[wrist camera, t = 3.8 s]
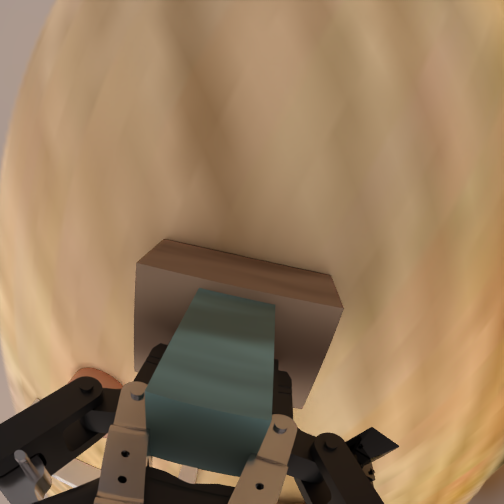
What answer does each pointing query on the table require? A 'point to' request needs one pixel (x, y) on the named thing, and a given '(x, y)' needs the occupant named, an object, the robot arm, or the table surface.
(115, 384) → the pink rounded dome
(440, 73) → the table surface
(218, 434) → the brown and teal block
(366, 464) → the black angular piece
